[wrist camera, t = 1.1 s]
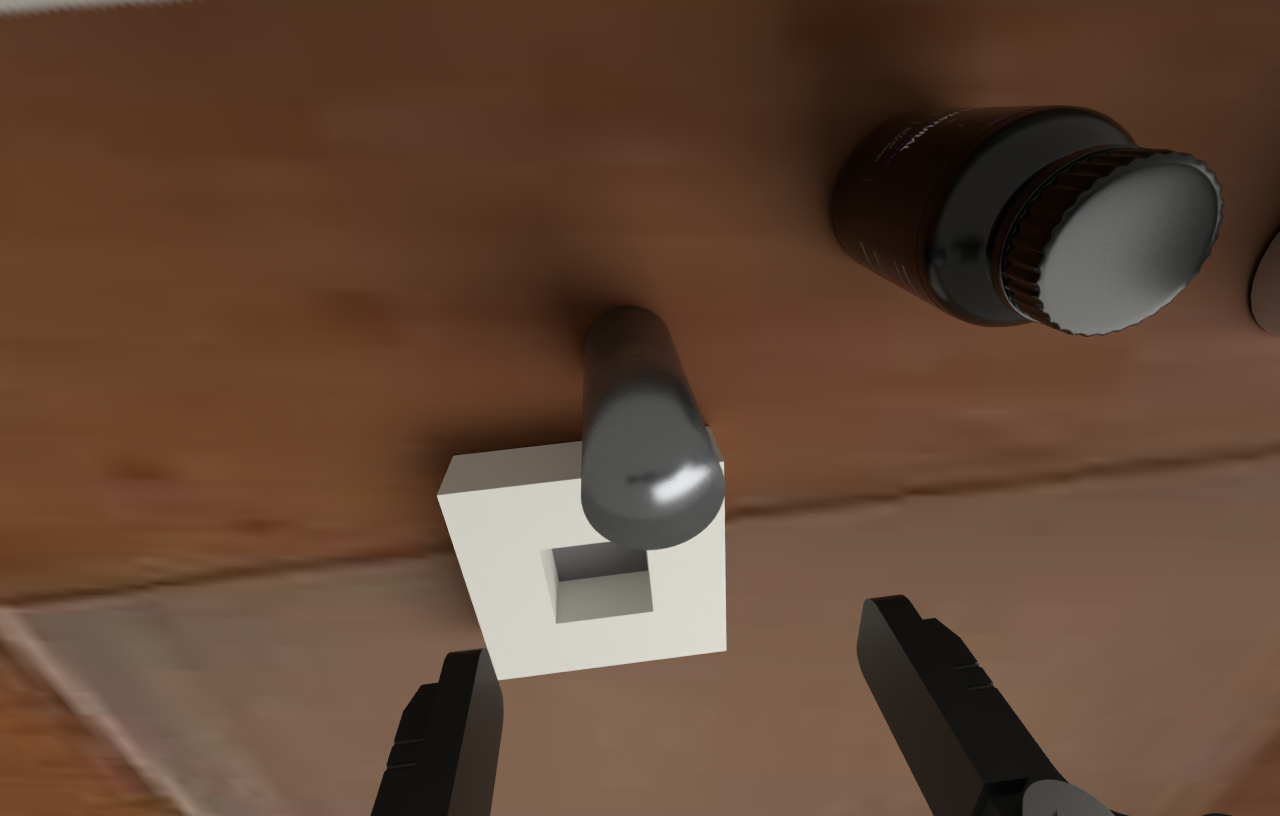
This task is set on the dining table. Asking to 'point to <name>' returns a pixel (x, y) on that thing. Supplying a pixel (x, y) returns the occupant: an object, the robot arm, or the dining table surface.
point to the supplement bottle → (1027, 216)
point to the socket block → (573, 570)
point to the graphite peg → (643, 437)
